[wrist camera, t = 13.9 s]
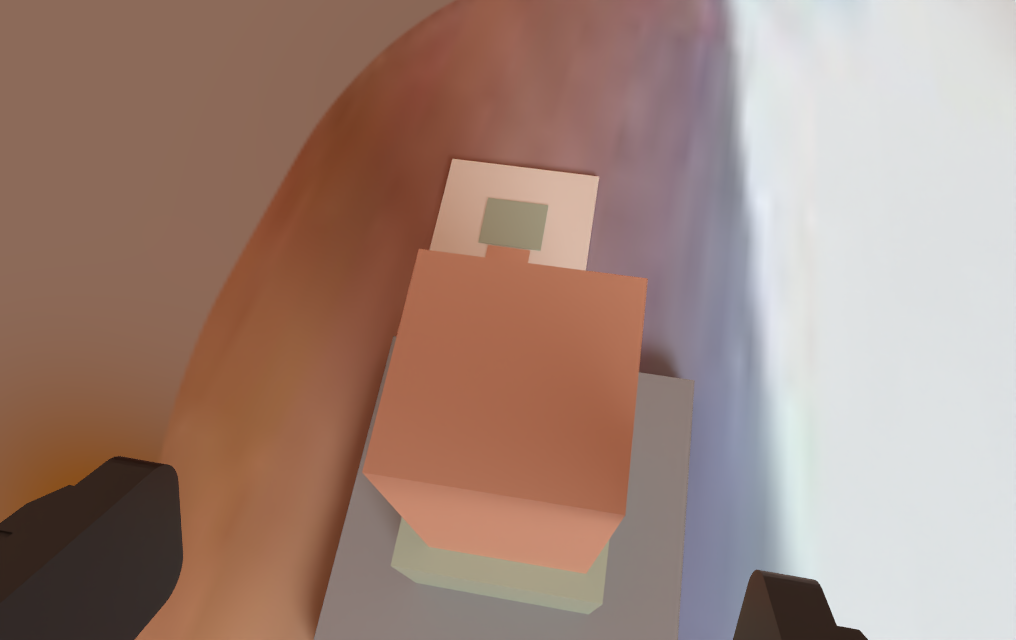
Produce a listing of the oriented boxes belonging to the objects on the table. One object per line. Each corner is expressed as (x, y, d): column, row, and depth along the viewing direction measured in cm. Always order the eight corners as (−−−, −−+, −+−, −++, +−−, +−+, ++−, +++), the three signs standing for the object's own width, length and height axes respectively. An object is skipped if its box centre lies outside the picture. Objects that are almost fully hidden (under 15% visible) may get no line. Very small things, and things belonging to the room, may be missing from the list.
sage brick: (451, 418, 27) (435, 370, 23) (608, 443, 27) (624, 399, 22) (415, 583, 25) (390, 566, 20) (588, 614, 24) (602, 604, 20)
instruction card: (453, 162, 34) (452, 157, 34) (598, 180, 34) (599, 175, 33) (405, 352, 30) (403, 348, 30) (570, 377, 29) (570, 373, 29)
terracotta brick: (459, 398, 22) (418, 248, 14) (603, 420, 22) (647, 278, 14) (429, 546, 20) (361, 472, 12) (586, 573, 20) (625, 515, 12)
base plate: (399, 350, 30) (393, 335, 29) (686, 393, 29) (694, 380, 28) (319, 661, 25) (307, 661, 24) (663, 728, 24) (671, 732, 23)
